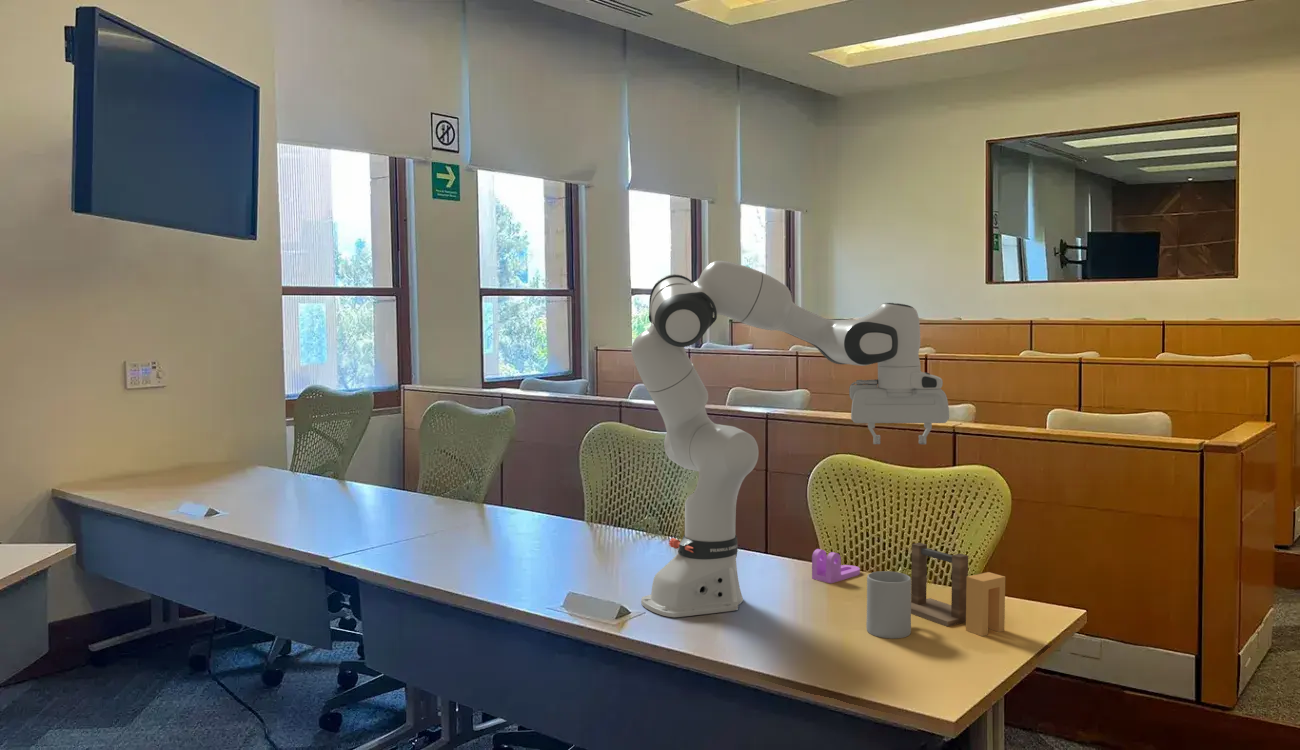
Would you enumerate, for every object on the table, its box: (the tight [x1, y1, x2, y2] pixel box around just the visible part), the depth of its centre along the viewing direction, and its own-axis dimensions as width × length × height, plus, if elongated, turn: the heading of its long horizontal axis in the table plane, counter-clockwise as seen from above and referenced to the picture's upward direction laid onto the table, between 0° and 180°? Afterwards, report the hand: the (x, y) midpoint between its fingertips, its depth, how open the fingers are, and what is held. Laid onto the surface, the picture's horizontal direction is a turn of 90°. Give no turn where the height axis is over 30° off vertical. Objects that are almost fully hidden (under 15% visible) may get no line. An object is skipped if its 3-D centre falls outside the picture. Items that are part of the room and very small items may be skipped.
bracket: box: [811, 548, 861, 584], centre depth 226 cm, size 13×6×7 cm, turn 131°
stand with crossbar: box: [910, 542, 969, 627], centre depth 196 cm, size 9×13×14 cm
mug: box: [865, 570, 912, 639], centre depth 187 cm, size 12×8×11 cm
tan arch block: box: [965, 571, 1006, 637], centre depth 186 cm, size 6×4×11 cm, turn 120°
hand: (899, 443), depth 202 cm, fingers open, 8 cm apart
